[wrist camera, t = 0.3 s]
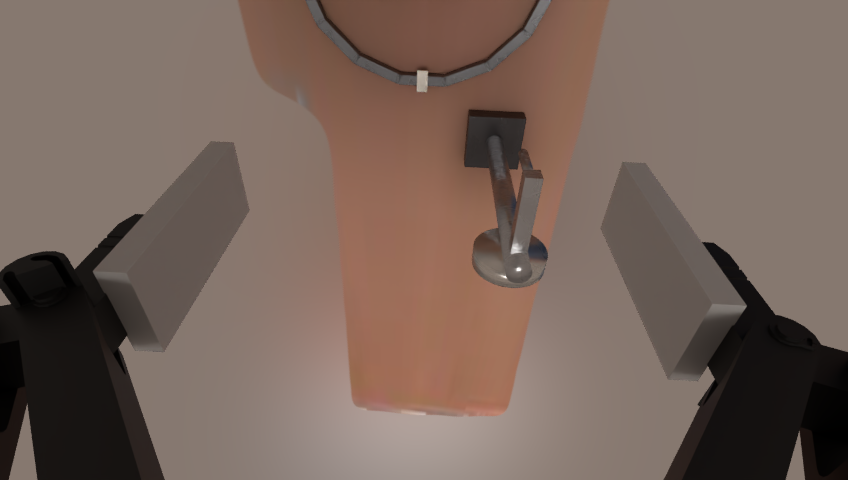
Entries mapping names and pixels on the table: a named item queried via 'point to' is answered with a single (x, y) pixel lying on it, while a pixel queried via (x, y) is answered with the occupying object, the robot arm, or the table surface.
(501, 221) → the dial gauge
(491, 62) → the centring ring
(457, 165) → the table surface
